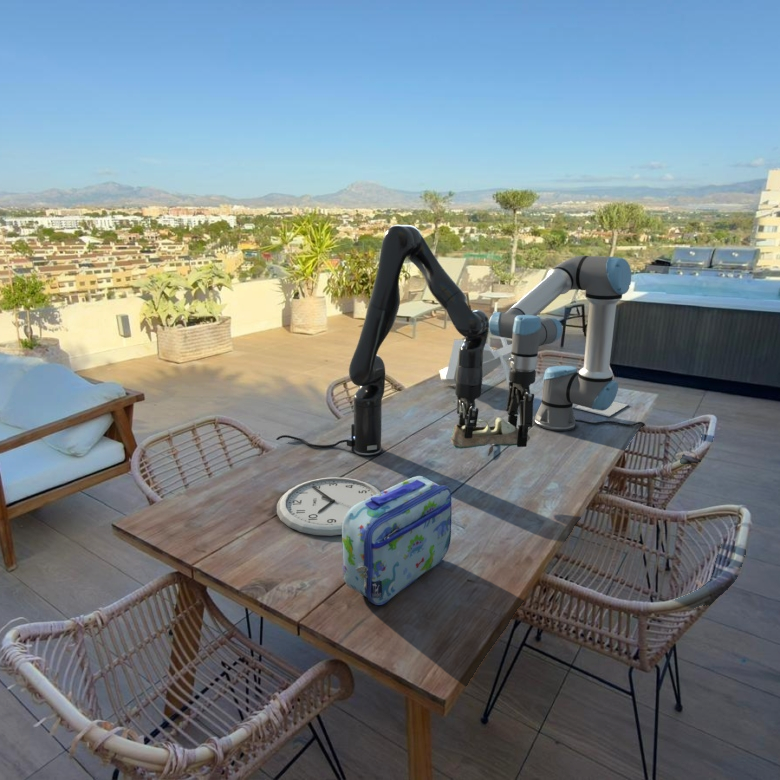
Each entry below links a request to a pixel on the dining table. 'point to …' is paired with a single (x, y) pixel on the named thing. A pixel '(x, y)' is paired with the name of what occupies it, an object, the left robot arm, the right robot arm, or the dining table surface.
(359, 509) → the lunch box
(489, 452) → the fork
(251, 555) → the dining table surface
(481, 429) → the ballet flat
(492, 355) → the white plastic object
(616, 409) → the invitation card
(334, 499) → the wall clock
